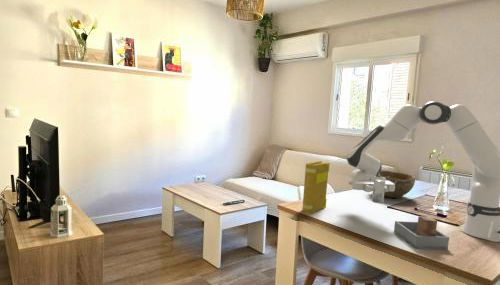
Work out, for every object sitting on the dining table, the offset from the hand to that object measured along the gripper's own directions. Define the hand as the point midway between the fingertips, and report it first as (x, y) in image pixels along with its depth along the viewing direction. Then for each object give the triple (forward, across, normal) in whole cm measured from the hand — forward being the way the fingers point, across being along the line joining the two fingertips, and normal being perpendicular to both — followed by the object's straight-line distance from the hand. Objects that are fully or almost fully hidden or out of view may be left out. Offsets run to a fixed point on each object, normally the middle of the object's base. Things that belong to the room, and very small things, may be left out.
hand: (379, 189), depth 153 cm
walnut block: (+19, +13, +17) cm, 28 cm away
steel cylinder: (-1, 0, +6) cm, 6 cm away
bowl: (-58, +35, +18) cm, 70 cm away
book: (-23, -24, +18) cm, 38 cm away
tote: (+15, +12, +18) cm, 26 cm away
